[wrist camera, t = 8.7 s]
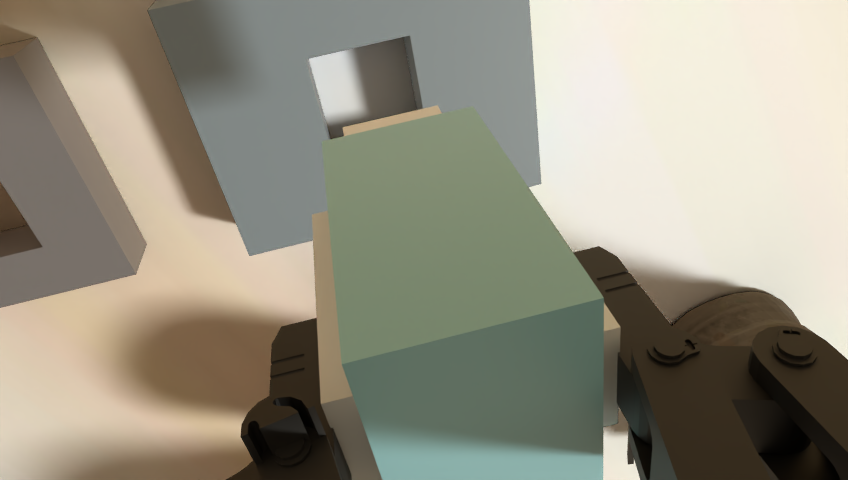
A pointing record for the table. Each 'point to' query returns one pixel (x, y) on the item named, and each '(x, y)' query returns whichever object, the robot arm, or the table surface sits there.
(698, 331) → the beer stein
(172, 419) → the table surface
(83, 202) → the hollow square frame
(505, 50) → the port panel
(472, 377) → the plug
